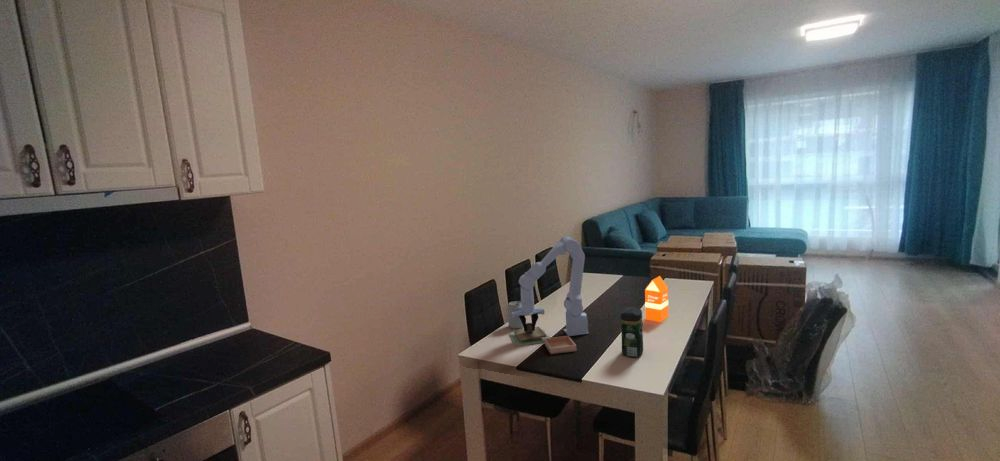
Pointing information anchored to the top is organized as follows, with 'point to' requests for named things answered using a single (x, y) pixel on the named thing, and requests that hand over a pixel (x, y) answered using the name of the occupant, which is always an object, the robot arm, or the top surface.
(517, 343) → the mat
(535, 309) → the robot arm
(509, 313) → the can
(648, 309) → the orange juice
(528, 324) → the cover
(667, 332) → the top surface
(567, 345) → the pink square tray
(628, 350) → the coffee jar
